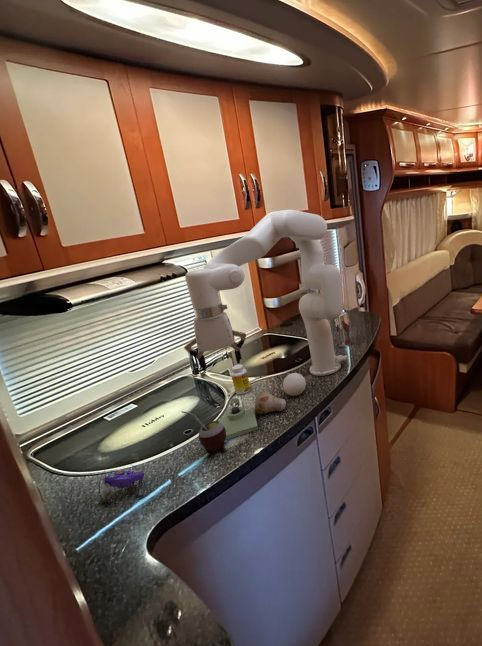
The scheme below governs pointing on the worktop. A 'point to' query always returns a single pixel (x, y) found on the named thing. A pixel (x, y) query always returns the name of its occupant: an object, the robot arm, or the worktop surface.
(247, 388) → the supplement bottle
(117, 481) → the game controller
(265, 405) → the beige lumpy tapered piece
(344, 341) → the beer glass
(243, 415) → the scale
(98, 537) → the worktop surface
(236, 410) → the tare button
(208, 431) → the mate gourd
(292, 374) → the ball
